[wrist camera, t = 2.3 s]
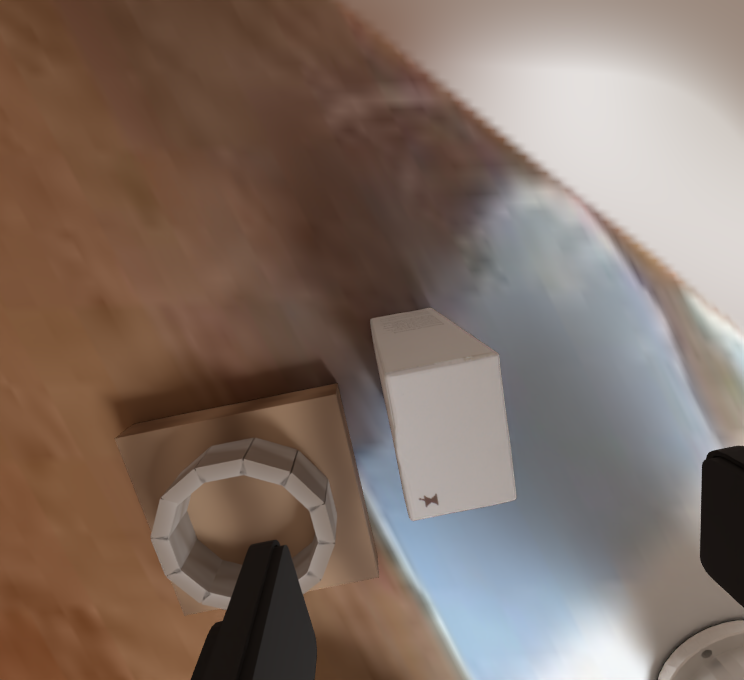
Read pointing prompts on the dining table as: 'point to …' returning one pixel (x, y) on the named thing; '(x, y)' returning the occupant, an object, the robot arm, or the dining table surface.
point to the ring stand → (252, 493)
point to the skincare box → (444, 414)
